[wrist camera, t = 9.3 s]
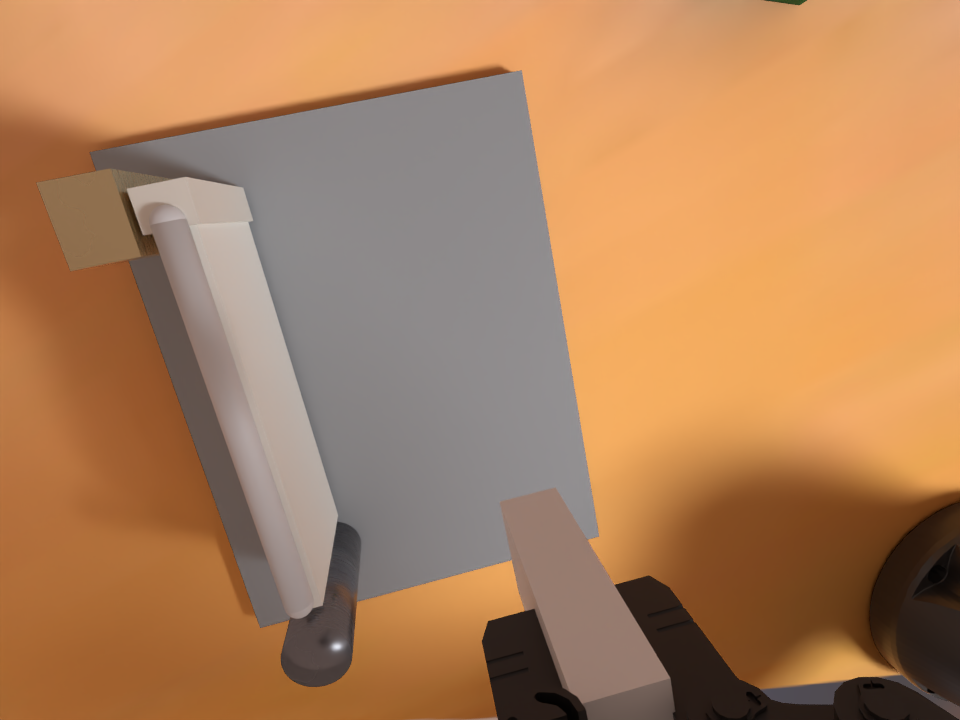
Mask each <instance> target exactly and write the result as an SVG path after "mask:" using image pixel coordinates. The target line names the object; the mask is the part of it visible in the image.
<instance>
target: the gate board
mask: <svg viewBox="0 0 960 720" xmlns="http://www.w3.org/2000/svg"><path fill="white" fill-rule="evenodd" d="M90 155H91V158H92V160H93V163H94V166H95V169H96V171H99V170H104V169H110V168H111V169H117V170H123V171H129V172H134V173H140V174H146V175H152V176H158V177H164V178H170V179H177V178H182V177H189V178H194V179H200V180H205V181H210V182H216V183H221V184H226V185H231V186H237V187H242V188H243V189H244V192H245V195H246V199H247V202H248V205H249V208H250V212H251V215H252V218H253V221H251V222H248V223H249V226H250V230H251V233H252V236H253V239H254V243H255V246H256V249H257V252H258V256H259V259H260V262H261V265H262V269H263V272H264V275H265V278H266V282H267V285H268V288H269V291H270V295H271V298H272V301H273V304H274V308H275V311H276V314H277V318H278V321H279V324H280V327H281V331H282V334H283V337H284V340H285V344H286V347H287V350H288V353H289V357H290V360H291V363H292V366H293V370H294V373H295V376H296V379H297V383H298V386H299V389H300V392H301V396H302V399H303V402H304V406H305V409H306V412H307V415H308V419H309V422H310V425H311V428H312V432H313V435H314V438H315V441H316V445H317V448H318V451H319V454H320V458H321V461H322V464H323V467H324V471H325V474H326V477H327V480H328V484H329V487H330V490H331V494H332V497H333V500H334V503H335V507H336V510H337V513H338V519H337V522H342V523H346V524H348V525H350V526H352V527H353V528H354V529H355V530H356V531H357V532H358V534H359V536H360V538H361V544H362V545H361V557H360V569H359V581H358V593H357V602H358V601H362V600H365V599H369V598H373V597H377V596H380V595H384V594H388V593H391V592H395V591H399V590H402V589H406V588H410V587H414V586H417V585H421V584H425V583H428V582H432V581H436V580H439V579H443V578H447V577H451V576H454V575H458V574H462V573H465V572H469V571H473V570H476V569H480V568H484V567H488V566H491V565H495V564H499V563H502V562H506V561H510V560H512V558H511V553H510V549H509V544H508V539H507V535H506V530H505V525H504V521H503V516H502V511H501V507H500V501H504V500H508V499H512V498H516V497H520V496H524V495H528V494H532V493H536V492H539V491H543V490H547V489H551V488H555V487H556V489H557V491H558V492H559V494H560V496H561V497H562V499H563V501H564V502H565V504H566V505H567V507H568V509H569V510H570V512H571V514H572V515H573V517H574V519H575V520H576V522H577V524H578V525H579V527H580V529H581V530H582V532H583V534H584V535H585V537H586V539H591V538H595V537H599V533H598V527H597V521H596V515H595V509H594V503H593V497H592V491H591V485H590V479H589V473H588V467H587V461H586V455H585V449H584V443H583V437H582V431H581V425H580V419H579V413H578V407H577V401H576V395H575V389H574V383H573V376H572V370H571V364H570V358H569V352H568V346H567V340H566V334H565V328H564V322H563V316H562V310H561V304H560V298H559V292H558V286H557V280H556V274H555V268H554V262H553V256H552V250H551V244H550V238H549V232H548V226H547V220H546V214H545V208H544V202H543V196H542V190H541V184H540V178H539V172H538V166H537V160H536V154H535V148H534V142H533V136H532V130H531V124H530V118H529V112H528V106H527V100H526V94H525V88H524V82H523V76H522V70H521V71H516V72H511V73H505V74H500V75H495V76H489V77H484V78H479V79H474V80H468V81H463V82H458V83H452V84H447V85H442V86H437V87H431V88H426V89H421V90H416V91H410V92H405V93H400V94H394V95H389V96H384V97H379V98H373V99H368V100H363V101H357V102H352V103H347V104H342V105H336V106H331V107H326V108H320V109H315V110H310V111H305V112H299V113H294V114H289V115H284V116H278V117H273V118H268V119H262V120H257V121H252V122H247V123H241V124H236V125H231V126H225V127H220V128H215V129H210V130H204V131H199V132H194V133H189V134H183V135H178V136H173V137H167V138H162V139H157V140H152V141H146V142H141V143H136V144H130V145H125V146H120V147H115V148H109V149H104V150H99V151H94V152H90ZM129 263H130V266H131V269H132V272H133V275H134V277H135V280H136V283H137V286H138V289H139V291H140V294H141V297H142V300H143V302H144V305H145V308H146V311H147V314H148V316H149V319H150V322H151V325H152V328H153V330H154V333H155V336H156V339H157V341H158V344H159V347H160V350H161V353H162V355H163V358H164V361H165V364H166V367H167V369H168V372H169V375H170V378H171V380H172V383H173V386H174V389H175V392H176V394H177V397H178V400H179V403H180V406H181V408H182V411H183V414H184V417H185V419H186V422H187V425H188V428H189V431H190V433H191V436H192V439H193V442H194V445H195V447H196V450H197V453H198V456H199V458H200V461H201V464H202V467H203V470H204V472H205V475H206V478H207V481H208V484H209V486H210V489H211V492H212V495H213V497H214V500H215V503H216V506H217V509H218V511H219V514H220V517H221V520H222V523H223V525H224V528H225V531H226V534H227V536H228V539H229V542H230V545H231V548H232V550H233V553H234V556H235V559H236V562H237V564H238V567H239V570H240V573H241V575H242V578H243V581H244V584H245V587H246V589H247V592H248V595H249V598H250V601H251V603H252V606H253V609H254V612H255V614H256V617H257V620H258V623H259V626H260V628H262V627H266V626H269V625H273V624H277V623H280V622H284V621H288V620H290V616H289V615H288V614H287V613H286V611H285V609H284V606H283V603H282V600H281V597H280V595H279V592H278V589H277V586H276V583H275V580H274V578H273V575H272V572H271V569H270V566H269V563H268V560H267V558H266V555H265V552H264V549H263V546H262V543H261V541H260V538H259V535H258V532H257V529H256V526H255V523H254V521H253V518H252V515H251V512H250V509H249V506H248V504H247V501H246V498H245V495H244V492H243V489H242V486H241V484H240V481H239V478H238V475H237V472H236V469H235V467H234V464H233V461H232V458H231V455H230V452H229V450H228V447H227V444H226V441H225V438H224V435H223V432H222V430H221V427H220V424H219V421H218V418H217V415H216V413H215V410H214V407H213V404H212V401H211V398H210V395H209V393H208V390H207V387H206V384H205V381H204V378H203V376H202V373H201V370H200V367H199V364H198V361H197V358H196V356H195V353H194V350H193V347H192V344H191V341H190V339H189V336H188V333H187V330H186V327H185V324H184V321H183V319H182V316H181V313H180V310H179V307H178V304H177V302H176V299H175V296H174V293H173V290H172V287H171V284H170V282H169V279H168V276H167V273H166V270H165V267H164V265H163V262H162V259H161V256H154V257H149V258H143V259H137V260H132V261H129Z"/></svg>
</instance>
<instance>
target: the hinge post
mask: <svg viewBox="0 0 960 720" xmlns="http://www.w3.org/2000/svg"><path fill="white" fill-rule="evenodd" d="M361 545H362V544H361V538H360V536H359V534H358V532H357V531H356V530H355V529H354V528H353V527H352V526H350V525H348V524H346V523H342V522H337V525H336V531H335V537H334V543H333V549H332V555H331V560H330V566H329V572H328V578H327V584H326V590H325V596H324V602H323V606H319V607H316V608H312V610H311V612H310V613H309V614H308V615H307V616H305V617H303V618H300V619H295V618H292V617H290V621H289V625H288V629H287V633H286V637H285V641H284V645H283V649H282V653H281V665H282V668H283V670H284V672H285V674H286V675H287V676H288V677H289V678H290V679H291V680H293V681H294V682H296V683H298V684H300V685H303V686H308V687H320V686H325V685H328V684H331V683H333V682H335V681H337V680H338V679H340V678H341V677H342V676H343V675H344V674H345V673H346V672H347V670H348V669H349V667H350V665H351V661H352V653H353V641H354V629H355V617H356V605H357V593H358V581H359V569H360V557H361Z"/></svg>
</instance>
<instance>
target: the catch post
mask: <svg viewBox="0 0 960 720" xmlns="http://www.w3.org/2000/svg"><path fill="white" fill-rule="evenodd" d="M168 180H172V179H170V178H164V177H158V176H152V175H146V174H140V173H134V172H129V171H123V170H117V169H111V168H110V169H104V170H99V171H94V172H89V173H84V174H79V175H73V176H68V177H63V178H58V179H53V180H47V181H42V182H37V183H36V184H37V186H38V189H39V191H40V194H41V197H42V199H43V202H44V204H45V207H46V210H47V212H48V215H49V217H50V220H51V222H52V225H53V228H54V230H55V233H56V235H57V238H58V241H59V243H60V246H61V248H62V251H63V253H64V256H65V259H66V261H67V264H68V266H69V269H70V271H75V270H80V269H86V268H92V267H97V266H103V265H109V264H114V263H120V262H126V261H132V260H137V259H143V258H149V257H154V256H160V253H159V250H158V247H157V245H156V242H155V239H154V236H153V235H143V234H142V231H141V228H140V225H139V222H138V220H137V217H136V214H135V211H134V208H133V206H132V203H131V200H130V197H129V194H128V192H127V189H128V188H133V187H138V186H143V185H148V184H153V183H158V182H163V181H168Z"/></svg>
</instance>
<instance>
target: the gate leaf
mask: <svg viewBox="0 0 960 720" xmlns="http://www.w3.org/2000/svg"><path fill="white" fill-rule="evenodd" d="M127 192H128V194H129V197H130V200H131V203H132V206H133V208H134V211H135V214H136V217H137V220H138V222H139V225H140V228H141V231H142V234H143V235H153V236H154V239H155V242H156V245H157V247H158V250H159V253H160V256H161V259H162V262H163V265H164V267H165V270H166V273H167V276H168V279H169V282H170V284H171V287H172V290H173V293H174V296H175V299H176V302H177V304H178V307H179V310H180V313H181V316H182V319H183V321H184V324H185V327H186V330H187V333H188V336H189V339H190V341H191V344H192V347H193V350H194V353H195V356H196V358H197V361H198V364H199V367H200V370H201V373H202V376H203V378H204V381H205V384H206V387H207V390H208V393H209V395H210V398H211V401H212V404H213V407H214V410H215V413H216V415H217V418H218V421H219V424H220V427H221V430H222V432H223V435H224V438H225V441H226V444H227V447H228V450H229V452H230V455H231V458H232V461H233V464H234V467H235V469H236V472H237V475H238V478H239V481H240V484H241V486H242V489H243V492H244V495H245V498H246V501H247V504H248V506H249V509H250V512H251V515H252V518H253V521H254V523H255V526H256V529H257V532H258V535H259V538H260V541H261V543H262V546H263V549H264V552H265V555H266V558H267V560H268V563H269V566H270V569H271V572H272V575H273V578H274V580H275V583H276V586H277V589H278V592H279V595H280V597H281V600H282V603H283V606H284V609H285V611H286V613H287V614H288V615H289V616H290V617H292V618H295V619H300V618H303V617H305V616H307V615H308V614H309V613H310V612H311V610H312V608H316V607H319V606H323V602H324V596H325V590H326V584H327V578H328V572H329V566H330V560H331V555H332V549H333V543H334V537H335V531H336V525H337V519H338V513H337V510H336V507H335V503H334V500H333V497H332V494H331V490H330V487H329V484H328V480H327V477H326V474H325V471H324V467H323V464H322V461H321V458H320V454H319V451H318V448H317V445H316V441H315V438H314V435H313V432H312V428H311V425H310V422H309V419H308V415H307V412H306V409H305V406H304V402H303V399H302V396H301V392H300V389H299V386H298V383H297V379H296V376H295V373H294V370H293V366H292V363H291V360H290V357H289V353H288V350H287V347H286V344H285V340H284V337H283V334H282V331H281V327H280V324H279V321H278V318H277V314H276V311H275V308H274V304H273V301H272V298H271V295H270V291H269V288H268V285H267V282H266V278H265V275H264V272H263V269H262V265H261V262H260V259H259V256H258V252H257V249H256V246H255V243H254V239H253V236H252V233H251V230H250V226H249V223H248V222H251V221H253V218H252V215H251V212H250V208H249V205H248V202H247V199H246V195H245V192H244V189H243V188H242V187H237V186H231V185H226V184H221V183H216V182H210V181H205V180H200V179H194V178H189V177H182V178H177V179H172V180H168V181H163V182H158V183H153V184H148V185H143V186H138V187H133V188H128V189H127Z"/></svg>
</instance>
